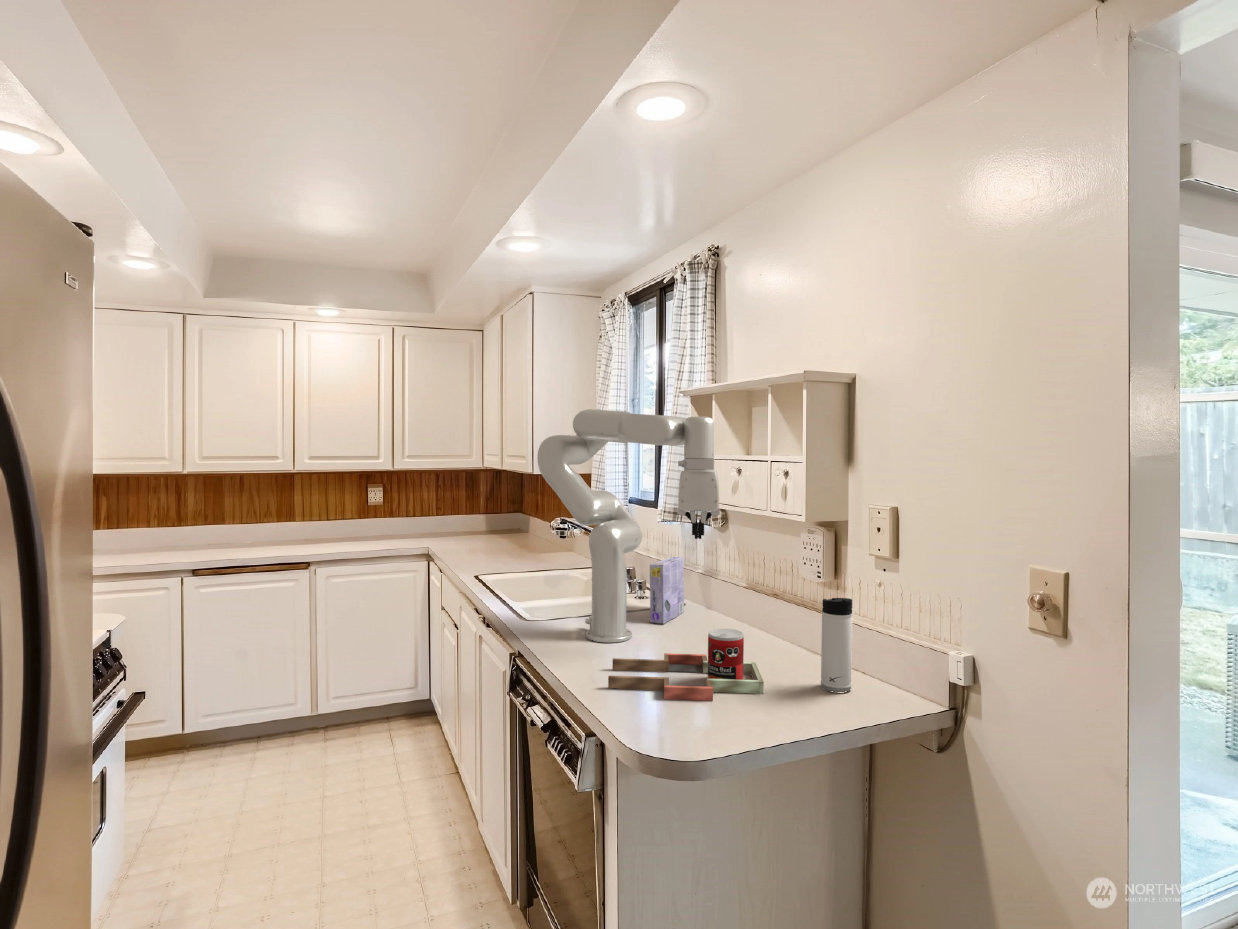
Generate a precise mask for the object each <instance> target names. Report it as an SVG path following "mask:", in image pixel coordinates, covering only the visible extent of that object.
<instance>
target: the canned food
mask: <svg viewBox="0 0 1238 929" xmlns="http://www.w3.org/2000/svg"><path fill="white" fill-rule="evenodd" d="M707 637H708V638H707V661H708V673H707V679H737V680H744V674H743V662H744V651H745V650H744V648H745V647H744V646H745V644H744V643H745V639H744V638H745V636H744V633H743V632H742V631H740V630H738V629H732V628H715V629H712V630H709V631H708V636H707Z"/></svg>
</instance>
